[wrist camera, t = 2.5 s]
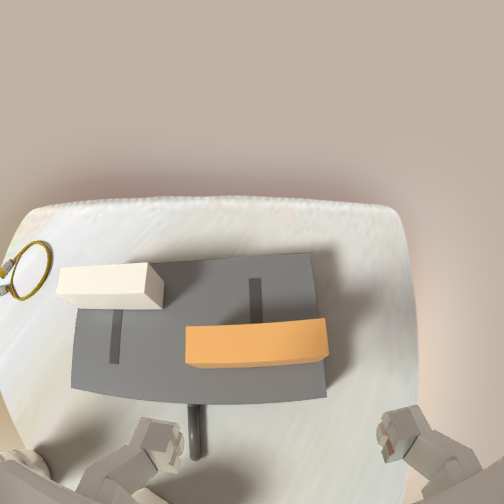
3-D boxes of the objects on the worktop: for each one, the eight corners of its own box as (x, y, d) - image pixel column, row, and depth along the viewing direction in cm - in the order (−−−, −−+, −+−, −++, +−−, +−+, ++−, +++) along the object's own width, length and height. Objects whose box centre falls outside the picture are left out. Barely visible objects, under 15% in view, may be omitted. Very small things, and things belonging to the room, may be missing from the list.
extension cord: (15, 242, 41) (9, 237, 39) (61, 244, 39) (54, 238, 37) (-4, 297, 35) (-11, 293, 33) (39, 311, 33) (31, 307, 32)
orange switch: (319, 361, 24) (329, 355, 20) (199, 368, 24) (185, 363, 20) (315, 330, 25) (324, 317, 21) (199, 337, 25) (185, 326, 21)
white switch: (162, 309, 27) (144, 293, 23) (79, 308, 27) (55, 293, 23) (164, 282, 28) (147, 262, 24) (83, 285, 29) (61, 268, 25)
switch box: (321, 454, 23) (330, 465, 19) (95, 442, 24) (72, 445, 20) (304, 268, 34) (308, 247, 30) (104, 279, 35) (86, 263, 30)
